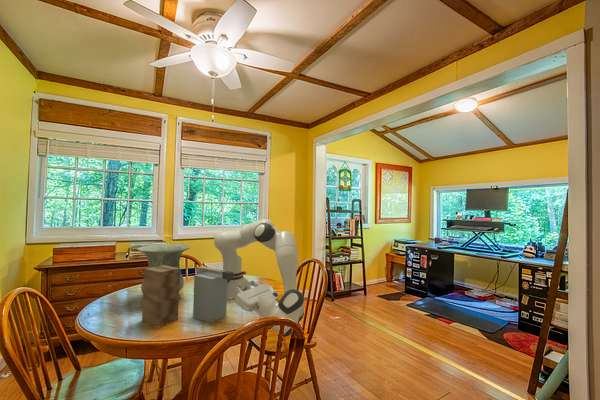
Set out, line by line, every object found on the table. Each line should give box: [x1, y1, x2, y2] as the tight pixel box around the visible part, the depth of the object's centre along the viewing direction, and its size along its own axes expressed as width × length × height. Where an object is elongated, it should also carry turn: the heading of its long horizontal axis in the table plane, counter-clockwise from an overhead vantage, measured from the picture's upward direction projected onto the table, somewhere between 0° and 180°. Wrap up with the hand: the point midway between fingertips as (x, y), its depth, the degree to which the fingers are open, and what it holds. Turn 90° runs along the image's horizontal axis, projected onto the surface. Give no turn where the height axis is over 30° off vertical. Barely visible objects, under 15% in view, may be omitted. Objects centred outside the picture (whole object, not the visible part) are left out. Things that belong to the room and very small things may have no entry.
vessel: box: [136, 243, 191, 301], centre depth 154 cm, size 27×27×30 cm
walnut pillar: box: [141, 265, 181, 328], centre depth 127 cm, size 10×12×24 cm
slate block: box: [192, 273, 228, 324], centre depth 133 cm, size 10×12×20 cm
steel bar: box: [196, 265, 233, 280], centre depth 133 cm, size 3×22×3 cm, turn 59°
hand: (244, 284), depth 123 cm, fingers open, 8 cm apart
